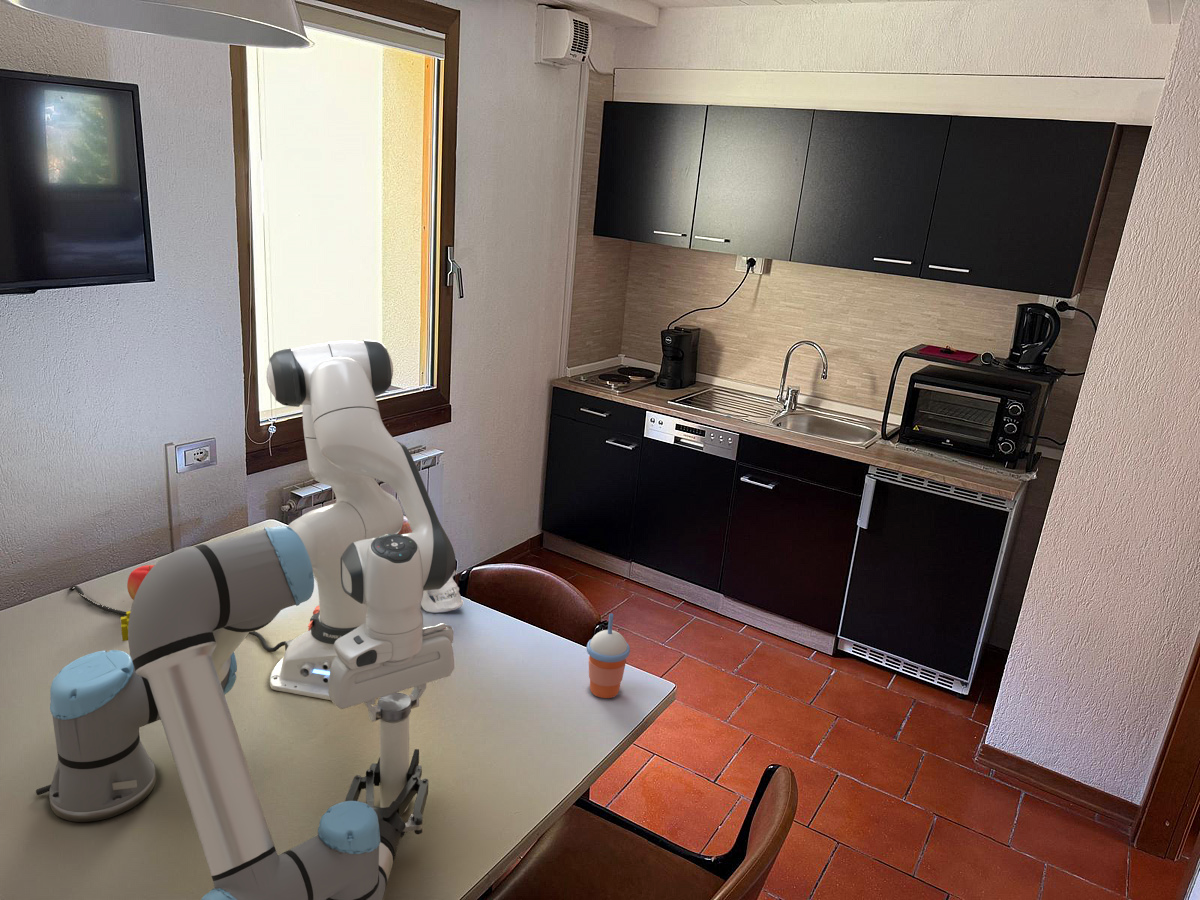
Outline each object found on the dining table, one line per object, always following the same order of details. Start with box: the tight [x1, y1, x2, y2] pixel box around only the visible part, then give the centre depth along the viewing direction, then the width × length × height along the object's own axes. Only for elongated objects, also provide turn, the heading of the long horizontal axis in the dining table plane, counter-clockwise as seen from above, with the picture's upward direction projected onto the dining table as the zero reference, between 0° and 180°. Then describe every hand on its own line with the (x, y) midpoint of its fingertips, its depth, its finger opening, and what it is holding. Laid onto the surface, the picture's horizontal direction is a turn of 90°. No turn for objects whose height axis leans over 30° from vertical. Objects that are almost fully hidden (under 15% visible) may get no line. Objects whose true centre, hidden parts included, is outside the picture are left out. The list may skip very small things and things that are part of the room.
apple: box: [126, 564, 155, 601], centre depth 199 cm, size 10×10×10 cm
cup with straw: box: [586, 613, 631, 699], centre depth 179 cm, size 9×9×18 cm
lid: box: [377, 692, 412, 721], centre depth 138 cm, size 5×5×2 cm
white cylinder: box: [379, 714, 410, 813], centre depth 141 cm, size 5×5×20 cm
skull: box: [421, 570, 465, 614], centre depth 211 cm, size 13×22×16 cm, turn 67°
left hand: (400, 755), depth 147 cm, fingers closed on white cylinder, 5 cm apart
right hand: (393, 712), depth 138 cm, fingers closed on lid, 5 cm apart
